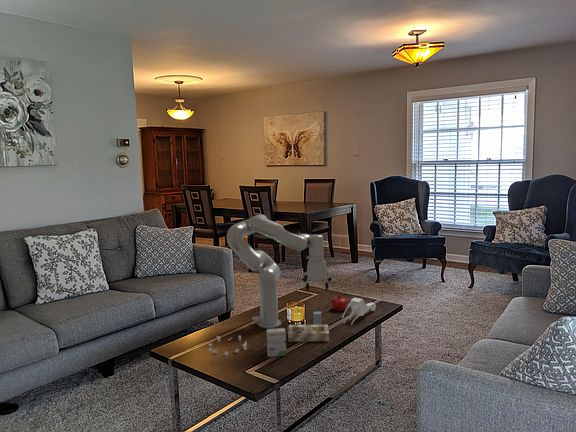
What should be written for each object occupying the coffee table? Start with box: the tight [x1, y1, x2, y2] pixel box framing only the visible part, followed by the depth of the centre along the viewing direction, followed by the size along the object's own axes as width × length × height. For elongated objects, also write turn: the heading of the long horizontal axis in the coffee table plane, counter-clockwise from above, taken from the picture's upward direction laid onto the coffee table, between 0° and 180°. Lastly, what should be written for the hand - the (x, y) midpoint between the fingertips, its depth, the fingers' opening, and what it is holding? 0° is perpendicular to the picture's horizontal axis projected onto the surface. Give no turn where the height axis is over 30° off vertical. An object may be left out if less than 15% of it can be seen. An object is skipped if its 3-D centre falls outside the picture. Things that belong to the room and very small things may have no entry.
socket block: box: [287, 324, 330, 342], centre depth 231 cm, size 20×12×4 cm, turn 88°
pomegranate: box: [330, 294, 349, 312], centre depth 272 cm, size 10×10×9 cm
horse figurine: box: [341, 297, 377, 326], centre depth 258 cm, size 6×18×28 cm
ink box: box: [266, 327, 287, 358], centre depth 211 cm, size 9×5×12 cm, turn 96°
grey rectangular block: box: [313, 311, 322, 325], centre depth 244 cm, size 4×4×8 cm
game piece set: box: [207, 334, 248, 356], centre depth 221 cm, size 19×20×4 cm
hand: (317, 290), depth 242 cm, fingers open, 9 cm apart
